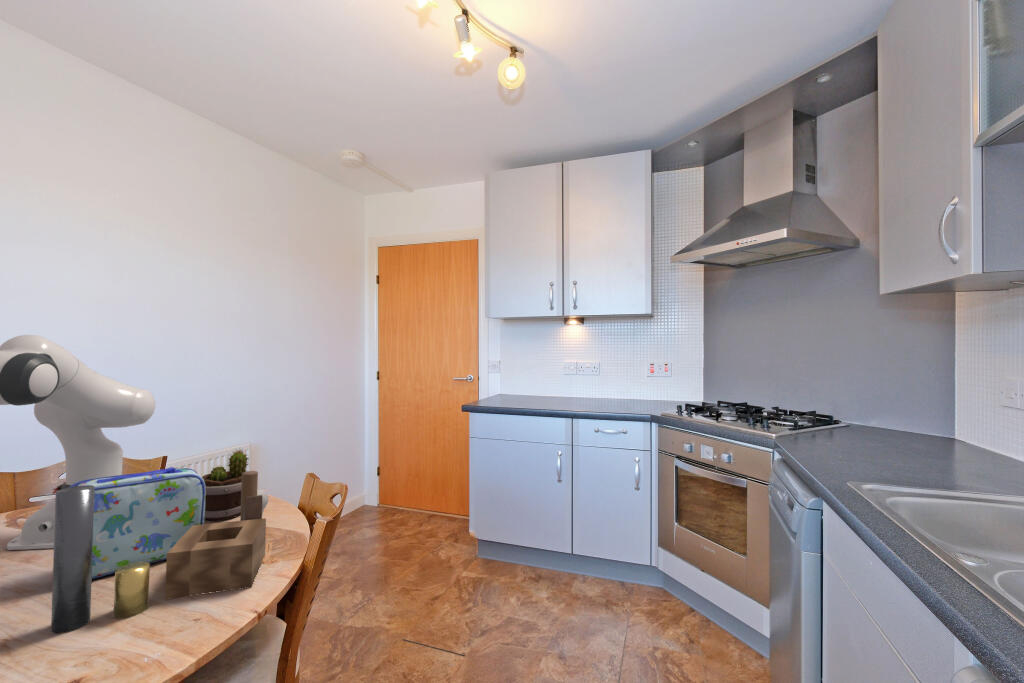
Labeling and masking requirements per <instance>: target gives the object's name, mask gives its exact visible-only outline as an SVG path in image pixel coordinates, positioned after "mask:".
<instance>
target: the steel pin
mask: <svg viewBox="0 0 1024 683" xmlns="http://www.w3.org/2000/svg"><path fill="white" fill-rule="evenodd" d="M94 488H95V487H94V486H92V485H83V486H74V487H69V488H64V489H61V490H58V491H56V493H55V498H54V499H55V528H54V548H53V557H52V558H53V563H52V564H53V565H52V566H53V567H52V587H51V590H52V592H51V594H52V595H51V621H50V622H51V623H50V626H51V627H50V632H51V633H53V634H58V635H59V634H64V633H69V632H73V631H75V630H79V628H82V627H83V626H84V627H85V626H86V625H87V624H89V623H90V622H91V613H92V612H91V609H92V580H93V579H92V551H93V520H94Z"/></svg>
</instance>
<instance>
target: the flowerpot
mask: <svg viewBox="0 0 1024 683" xmlns="http://www.w3.org/2000/svg"><path fill="white" fill-rule="evenodd" d="M249 459H250V456H247V452H245V451H244V448H242V449H241V447H239V448H238V449H237V448H235V450H233V451H232V453H231V454H229V457H227V459H226V461H227V464H225V466H224V465H218V464H217V465H215V467H214V466H213V467H210V468H211V470H210V473H208V474H204V475H201V477H202V478H203V480H204V482H205V488H206V496H205V516H204V520H208V521H211V522H213V521H217V522H218V521H226V520H230V519H233V518H236V517H238V516H241V486H242V473H244V472H247V468H248V466H250V464H249V461H250V460H249ZM226 467H227V469H226Z"/></svg>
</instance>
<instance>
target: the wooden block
mask: <svg viewBox="0 0 1024 683" xmlns="http://www.w3.org/2000/svg"><path fill="white" fill-rule="evenodd" d="M258 475H259V472H258V470H246V471H245V472H244V473H242V486H241V514H240V520H239V521H244V520H254V519H263V514H262V498H263V496H262V495H258V496H257V489H258V483H259V482H258V480H259V479H258V478H259V477H258Z"/></svg>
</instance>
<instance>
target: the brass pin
mask: <svg viewBox="0 0 1024 683" xmlns="http://www.w3.org/2000/svg"><path fill="white" fill-rule="evenodd" d="M150 564H151V563H148V562H135V563H131V564H127V565H124V566H122V567H120V568H118V569H117V570H116V571H115V573H114V592H113V593H114V595H113V618H115V619H128V618H132V617H135V616H137V615H140V614H142V613H144V612H145V611H146V610H148V608H149V598H150V597H149V596H150V595H149V594H150V569H151V568H150V567H151V565H150Z"/></svg>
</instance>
